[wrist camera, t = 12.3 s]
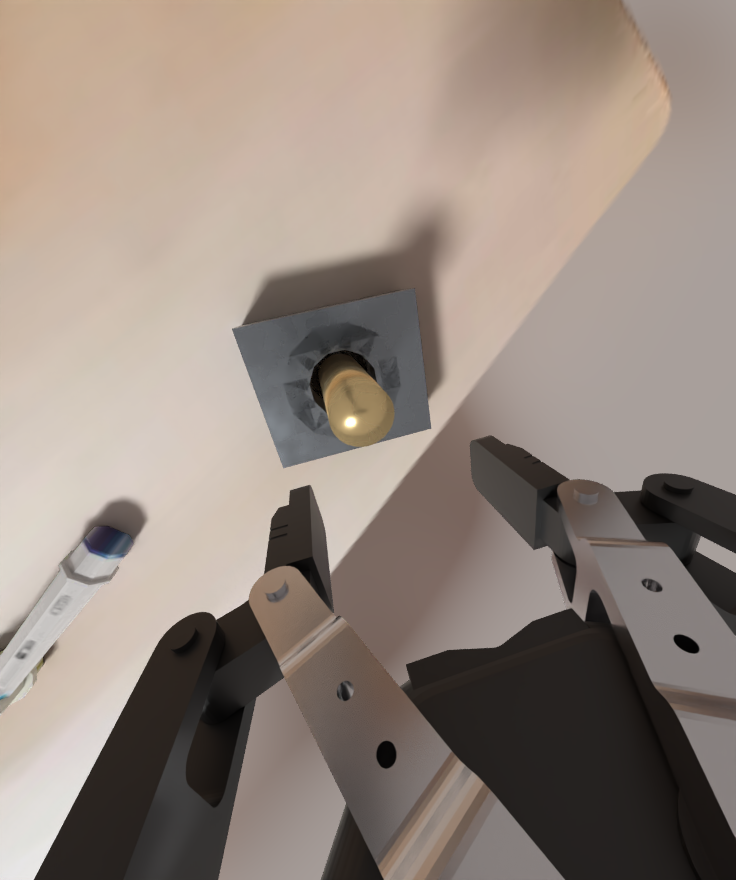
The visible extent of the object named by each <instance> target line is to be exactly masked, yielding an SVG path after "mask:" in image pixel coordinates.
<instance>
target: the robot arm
mask: <svg viewBox="0 0 736 880" xmlns="http://www.w3.org/2000/svg"><path fill="white" fill-rule="evenodd" d="M470 456H471V472H472V479H473V482H474V485H475V487H476V488H477V490H478V491H479V492H480V493H481V494H482V495H483V496H484V497H485V498H486V499H487V501H488V502H489V503H490V504H491V505H492V506H493V507H494V508H495V509H496V510H497V511H498V512H499V513H500V514H501V515H502V517H504V519H505V520H506V521H507V522H508V523H509V524H510V525H511V526H512V527H513V528H514V529H515V530H516V531H517V533H518V534H519V535H520V536H521V537H522V538H523V539H524V540H525V541H526V542H527V543H528V544H529V545H530V546H531V547H532V548H533V550H535V549H538V548H542V547H545V546H548V547H550V548H551V549H552V554H551V555H552V556H551V560H552V563H553V567H554V570H555V573H556V577H557V580H558V584H559V587H560V590H561V594H562V597H563V601H564V604H565V607H566V610H564V611H561V612H558V613H555V614H552V615H549V616H546V617H544V618H541V619H538V620H535V621H532V622H531V623H530V624H528V625H527V626H526V627H524V628H523V629H522V630H521V631H519V632H518V633H517V634H515V635H514V636H513V637H511V638H510V639H509V640H507V641H506V642H505V643H504V644H502V645H501V646H499V647H496V648H481V649H460V650H447V651H444V652H441V653H439V654H436V655H432V656H430V657H427V658H424V659H421V660H418V661H415V662H412V663H409V664H406V667H407V671H408V675H409V679H410V680H408V681H407V682H406V683H404V684H403V685H402V686H401V687H399V685H398V684H397V683H396V682H395V680H394V679H393V678H392V677H391V676H390V674H389V673H388V672H387V671H386V669H385V668H384V667H383V666H382V665H381V663H380V662H379V661H378V660H377V658H376V657H375V656H374V655H373V653H372V652H371V651H370V650H369V649H368V648H367V646H366V645H365V644H364V642H363V641H362V640H361V639H360V637H359V636H358V635H357V634H356V633H355V631H354V630H353V629H352V628H351V627H350V625H349V624H348V623H347V622H346V621H345V619H343V618H342V617H341V616H338V617H337V618H336V617H335V616H334V614H333V613H334V609H333V599H332V590H331V580H330V571H329V561H328V552H327V542H326V533H325V528H324V524H323V520H322V517H321V514H320V511H319V508H318V505H317V502H316V499H315V496H314V493H313V490H312V487H311V485H308V486H304V487H301V488H297V489H293V490H290V498H289V505H287V506H283V507H280V508H278V510H277V511H276V513H275V514H274V516H273V517H272V520H271V528H270V530H271V531H270V535H269V542H268V550H267V557H266V565H265V572H264V575H263V576H261V577H260V578H259V579H258V580H257V582H256V583H255V584H254V586H253V587H252V589H251V591H250V594H249V600H248V601H246V602H245V603H244V604H242V605H241V606H239V607H238V608H236V609H234V610H233V611H231V612H229V613H227V614H226V615H224V616H222V617H221V618H219V619H217V620H216V619H215V617H214V616H213V615H212V614H210V613H207V612H199V613H195V614H192V615H189V616H187V617H185V618H183V619H182V620H180V621H179V622H177V623H176V624H175V625H174V626H172V627H171V628H170V629H169V630H168V631H167V632H166V633H165V634H164V636H163V637H162V638H161V640H160V641H159V643H158V644H157V646H156V648H155V650H154V652H153V653H152V655H151V657H150V659H149V661H148V663H147V665H146V667H145V669H144V671H143V673H142V674H141V676H140V678H139V680H138V682H137V684H136V686H135V688H134V690H133V692H132V694H131V695H130V697H129V699H128V701H127V703H126V705H125V707H124V709H123V711H122V713H121V715H120V716H119V718H118V720H117V722H116V724H115V726H114V728H113V730H112V732H111V734H110V736H109V737H108V739H107V741H106V743H105V745H104V747H103V749H102V751H101V753H100V755H99V756H98V758H97V760H96V762H95V764H94V766H93V768H92V770H91V772H90V774H89V776H88V777H87V779H86V781H85V783H84V785H83V787H82V789H81V791H80V793H79V795H78V797H77V798H76V800H75V802H74V804H73V806H72V808H71V810H70V812H69V814H68V816H67V818H66V819H65V821H64V823H63V825H62V827H61V829H60V831H59V833H58V835H57V837H56V839H55V840H54V842H53V844H52V846H51V848H50V850H49V852H48V854H47V856H46V858H45V859H44V861H43V863H42V865H41V867H40V869H39V871H38V873H37V875H36V877H35V879H34V880H218V877H219V873H220V868H221V863H222V859H223V854H224V849H225V844H226V840H227V835H228V830H229V825H230V820H231V815H232V811H233V806H234V801H235V796H236V792H237V787H238V782H239V778H240V773H241V768H242V763H243V759H244V754H245V749H246V744H247V739H248V735H249V730H250V725H251V720H252V716H253V711H254V706H255V701H256V697H258V696H259V695H260V694H262V693H263V692H264V691H266V690H267V689H269V688H270V687H271V686H273V685H274V684H276V683H277V682H278V681H280V680H281V679H283V678H284V677H285V679H286V682H287V683H288V686H289V688H290V690H291V692H292V694H293V696H294V698H295V700H296V702H297V704H298V706H299V708H300V710H301V712H302V714H303V716H304V718H305V720H306V722H307V724H308V726H309V728H310V730H311V732H312V734H313V736H314V738H315V740H316V742H317V744H318V746H319V748H320V750H321V752H322V755H323V756H324V759H325V761H326V762H327V765H328V767H329V769H330V771H331V773H332V775H333V777H334V779H335V781H336V783H337V785H338V787H339V789H340V791H341V793H342V795H343V797H344V799H345V801H346V806H345V809H344V812H343V815H342V818H341V821H340V824H339V827H338V830H337V833H336V836H335V839H334V842H333V845H332V848H331V851H330V854H329V857H328V860H327V863H326V866H325V869H324V872H323V875H322V878H321V880H736V573H735V572H733V571H731V570H729V569H728V568H726V567H724V566H722V565H720V564H718V563H716V562H715V561H713V560H711V559H709V558H708V557H706V556H704V555H702V554H700V553H698V552H696V548H697V545H698V543H699V540H700V537H701V536H702V537H704V538H706V539H708V540H710V541H713V542H714V543H716V544H718V545H720V546H722V547H724V548H726V549H728V550H730V551H732V552H734V553H736V495H735V494H732V493H730V492H727V491H725V490H722V489H719V488H716V487H714V486H711V485H709V484H706V483H704V482H701V481H699V480H695V479H693V478H690V477H686V476H682V475H677V474H654V475H650V476H648V477H646V478H645V479H644V481H643V485H642V490H641V491H629V492H628V491H627V492H613V491H612V490H611V489H609V488H608V487H606V486H605V485H603V484H600V483H598V482H594V481H590V480H580V479H577V480H569V479H568V478H566V477H565V476H563V475H562V474H560V473H558V472H557V471H556V470H554V469H552V468H551V467H549V466H548V465H546V464H545V463H543V462H541V461H540V460H539V459H537V458H536V457H534V456H533V457H532V455H531V454H530V453H528V452H527V451H525V450H524V449H522V448H520V447H516V446H513V445H510V444H506V445H505V444H504V443H502V442H501V441H499V440H498V439H496V438H495V437H493V436H487V437H483V438H479V439H476V440H473V441H471V443H470Z"/></svg>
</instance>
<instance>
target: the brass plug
mask: <svg viewBox="0 0 736 880" xmlns="http://www.w3.org/2000/svg"><path fill="white" fill-rule="evenodd" d="M319 380H320V385H321V389H322V393H323V398H324V402H325V406H326V411H327V415H328V419H329V424H330V427H331V429H332V431H333V433H334V434H335V436H336V437H337V438H338V439H339V440H340V441H342V442H344V443H345V444H348V445H351V446H355V447H364V446H369V445H372V444H374V443H376V442H378V441H380V440H381V439H382V438H383V437H384V436H385V435H386V434H387V433H388V432H389V430H390V429H391V427H392V424H393V421H394V413H395V412H394V406H393V403H392V400H391V398H390V397H389V395H388V394H387V393H386V392H385V391H384V390H383V389H382V388H381V387H380V386H379V385H378V384H377V382H376V381H375V380H374V379H373V378H372V377H371V376H370V375H369V374H368V373H367V372H366V371H365V370H364V369H363V368H362V367H361V366H360V365H359V364H358V362H357V361H356V360H355V359H354V358H352V357H351V356H349V355H347V354H342V353H338V354H333V355H331V356H329V357H327V358H326V359H325V360H324V361H323V363H322V364H321V366H320V369H319Z"/></svg>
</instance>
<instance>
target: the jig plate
mask: <svg viewBox="0 0 736 880" xmlns="http://www.w3.org/2000/svg"><path fill="white" fill-rule="evenodd" d="M232 330H233V333H234V336H235V339H236V341H237V344H238V347H239V349H240V352H241V355H242V357H243V360H244V363H245V366H246V368H247V371H248V374H249V376H250V379H251V382H252V384H253V387H254V390H255V393H256V395H257V398H258V401H259V403H260V406H261V409H262V411H263V414H264V417H265V420H266V422H267V425H268V428H269V430H270V433H271V436H272V438H273V441H274V444H275V447H276V449H277V452H278V455H279V457H280V460H281V463H282V465H283V468H286V467H290V466H293V465H297V464H301V463H304V462H308V461H312V460H316V459H319V458H323V457H327V456H330V455H334V454H338V453H342V452H345V451H349V450H353V449H356V448H360V447H355V446H351V445H348V444H345V443H344V442H342V441H340V440H339V439H338V438H337V437H336V436H335V434H334V433H333V431H332V429H331V427H330V424H329V419H328V415H327V411H326V406H325V402H324V400H323V399H322V398H321V397H320V396H319V395H318V394H317V393H316V392H315V391H314V390H313V389H312V385H311V382H310V380H311V376H312V372H313V369H314V366H315V365H316V364H317V363H318V362H319V361H320V360H322V359H323V358H324V357H325V356H326V355H327V354H329V353H333V352H337V351H342V350H348V351H351V352H354V353H358V354H360V355H361V356H362V357H363V358H364V359H365V361H366V366H367V371H368V374H369V375H370V376H371V377H372V378H373V379H374V380H375V381H376V382H377V384H378V385H379V386H380V387H381V388H382V389H383V390H384V391H385V392H386V393H387V394H388V395H389V397H390V398H391V400H392V403H393V406H394V412H395V413H394V421H393V424H392V427H391V429H390V430H389V432H388V433H387V434H386V435H385V436H384V437H383V438H382V439H381V440H380V441H378V442H376V443H379V442H382V441H386V440H390V439H394V438H397V437H401V436H405V435H409V434H412V433H416V432H420V431H423V430H427V429H431V422H430V414H429V405H428V397H427V388H426V380H425V371H424V362H423V354H422V345H421V337H420V328H419V320H418V311H417V302H416V294H415V288H413V289H405V290H398V291H394V292H389V293H385V294H380V295H376V296H371V297H367V298H362V299H358V300H353V301H349V302H344V303H340V304H335V305H331V306H326V307H322V308H317V309H313V310H308V311H304V312H299V313H295V314H290V315H286V316H281V317H277V318H272V319H268V320H263V321H259V322H254V323H250V324H245V325H241V326H238V327H236V328H233V329H232ZM374 444H375V443H374Z"/></svg>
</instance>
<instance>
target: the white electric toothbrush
mask: <svg viewBox="0 0 736 880" xmlns="http://www.w3.org/2000/svg"><path fill="white" fill-rule="evenodd" d="M133 544H134V542H133V540H132V539H131V537H130V536H129V535H128V534H126V533H123V532H121V531H118V530H116V529H114V528H111V527H109V526H101V527H94V528H93V529H92V530H91V531H90V532H89V533H88V535H87V536H86V537H85V538H84V539H83V541H82V542H81V543H80V545H79V546H78V547H77V549H76V550H74V551H71V552H70V553H69V554H68V555H67V556H66V557H65V558H64V560H63V561H62V562H61V563H60V564H59V565H58V566H59V568H60V571H59V573H58V574H57V576H56V577H55V578H54V580H53V581H52V583H51V584H50V586H49V587H48V588H47V590H46V591H45V593H44V594H43V596H42V597H41V598H40V600H39V601H38V603H37V604H36V606H35V607H34V608H33V610H32V611H31V613H30V614H29V616H28V617H27V619H26V620H25V621H24V623H23V624H22V626H21V627H20V629H19V630H18V631H17V633H16V634H15V636H14V637H13V639H12V640H11V641H10V643H9V644H8V646H7V647H6V649H5V650H3V651H1V652H0V716H1V714H2V713H3V712H4V711H5V709H6V708H7V707H8V706H9V705H11V704H13V703H15V702H16V701H18V700H20V699H22V698H24V697H25V695H26V694H27V693H28V691H29V690H30V689H31V687H32V686H33V685H34V683H35V682H36V680H37V673H38V672H39V670H40V669H41V667H42V666H43V664H44V663H43V656H44V654H45V653H46V652H47V651H48V650H49V648H50V647H51V646H52V645H53V644H54V642H55V641H56V640H57V639H58V638H59V636H60V635H61V634H62V633H63V632H64V630H65V629H66V628H67V627H68V626H69V624H70V623H71V622H72V621H73V620H74V618H75V617H76V616H77V615H78V614H79V612H80V611H81V610H82V609H83V608H84V606H85V605H86V604H87V603H88V602H89V600H90V599H91V598H92V597H93V596H94V594H95V593H96V592H97V591H98V590H99V588H100V587H101V586H102V585H103V584H107V583H109V582H110V581H111V579H112V578H113V576H114V575H115V573H116V572H117V570H118V569H119V567H118V564H119V563H120V562H121V561H122V559H123V558H124V557H125V555H126V554H127V553H128V551H129V550H130V548H131V547H132V545H133Z"/></svg>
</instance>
